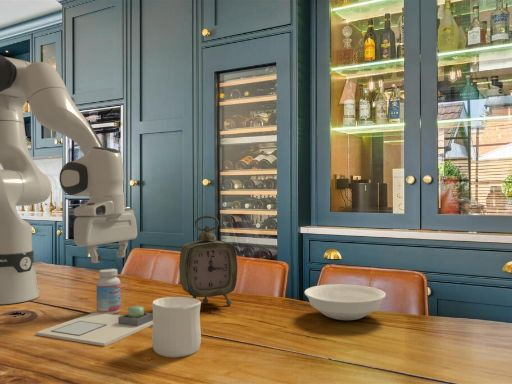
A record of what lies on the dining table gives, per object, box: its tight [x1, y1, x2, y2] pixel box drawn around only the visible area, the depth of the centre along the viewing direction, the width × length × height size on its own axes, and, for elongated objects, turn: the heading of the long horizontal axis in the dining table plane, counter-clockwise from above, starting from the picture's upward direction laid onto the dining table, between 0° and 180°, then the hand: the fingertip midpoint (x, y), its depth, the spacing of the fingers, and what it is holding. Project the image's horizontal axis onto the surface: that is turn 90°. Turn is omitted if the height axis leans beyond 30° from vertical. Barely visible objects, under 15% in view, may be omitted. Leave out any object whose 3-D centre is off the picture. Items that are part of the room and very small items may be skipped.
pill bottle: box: [96, 268, 122, 315], centre depth 121 cm, size 6×6×11 cm
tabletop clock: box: [178, 215, 238, 306], centre depth 127 cm, size 14×9×25 cm, turn 114°
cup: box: [151, 296, 202, 358], centre depth 92 cm, size 10×10×10 cm
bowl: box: [304, 283, 387, 321], centre depth 113 cm, size 20×20×6 cm
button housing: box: [118, 311, 153, 326], centre depth 110 cm, size 6×6×2 cm
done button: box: [127, 305, 145, 318], centre depth 110 cm, size 4×4×2 cm
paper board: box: [35, 311, 153, 347], centre depth 107 cm, size 20×18×1 cm
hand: (108, 260), depth 121 cm, fingers open, 8 cm apart
